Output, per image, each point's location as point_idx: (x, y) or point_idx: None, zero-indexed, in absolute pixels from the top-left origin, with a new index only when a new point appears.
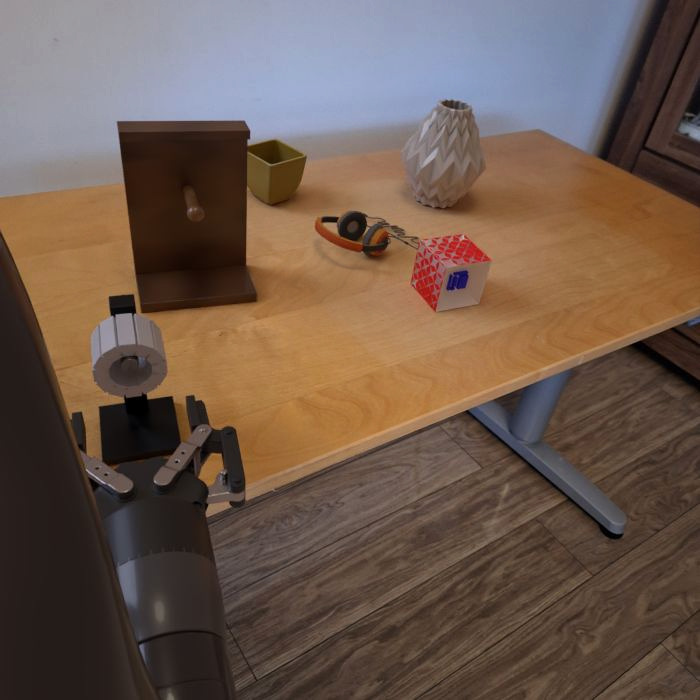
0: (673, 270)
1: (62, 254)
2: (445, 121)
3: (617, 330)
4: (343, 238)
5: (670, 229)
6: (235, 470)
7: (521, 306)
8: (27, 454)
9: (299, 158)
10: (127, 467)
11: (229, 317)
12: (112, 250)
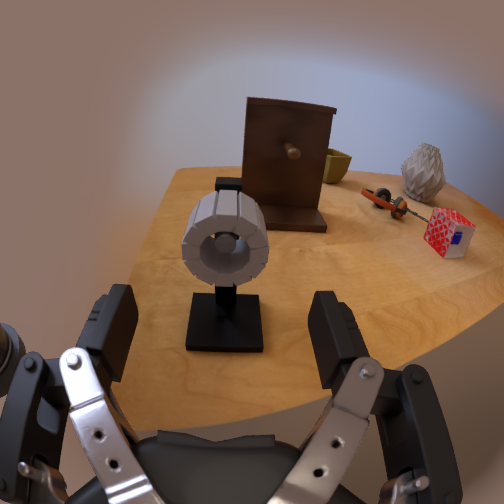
0: None
1: (197, 192)
2: (428, 151)
3: None
4: (383, 200)
5: None
6: (444, 475)
7: (482, 262)
8: None
9: (347, 157)
10: (176, 450)
11: (306, 240)
12: None
